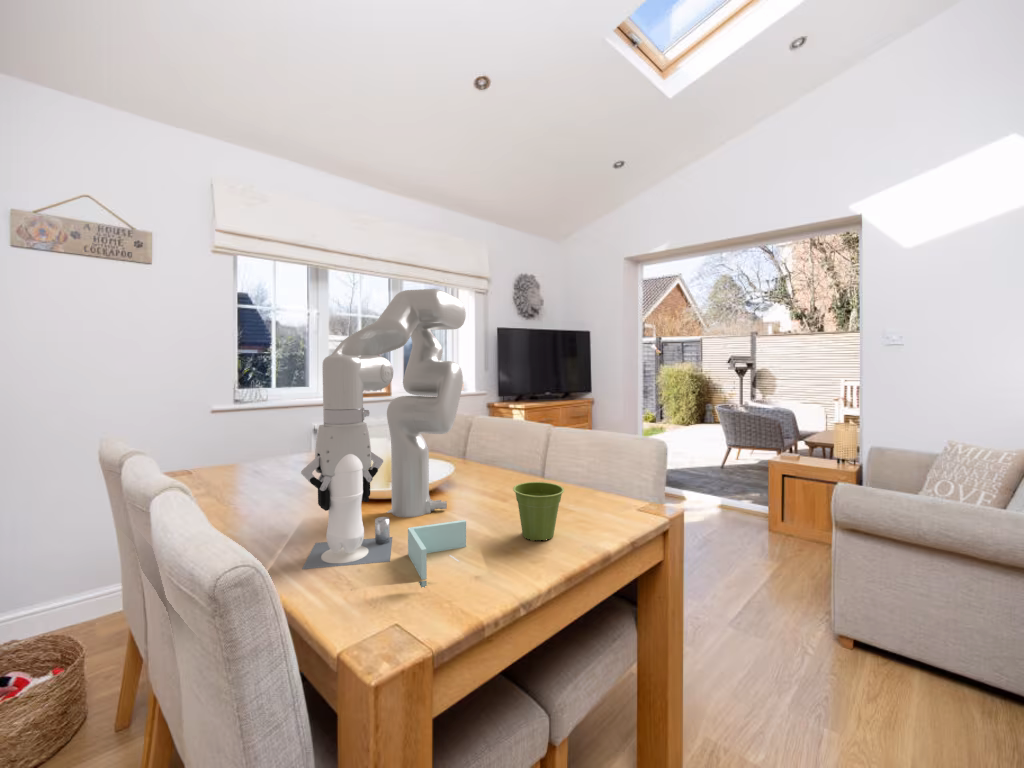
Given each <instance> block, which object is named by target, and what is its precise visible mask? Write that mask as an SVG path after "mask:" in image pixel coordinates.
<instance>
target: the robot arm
mask: <svg viewBox="0 0 1024 768" xmlns="http://www.w3.org/2000/svg"><path fill="white" fill-rule="evenodd" d="M466 318H467V312H466V308H465V305H464V303H463V302H462V301H461V300H460V299H459V298H458V297H456V296H454V295H452V294H450V293H448V292H446V291H443V290H440V289H438V288H436V289H435V288H426V289H423V288H422V289H407V290H406V289H404V290H402V291H399V292H398V293H397V294H395V295H394V297H393V298H392V299H391V301H390V302H389V304H388V305H387V306H386V308H384V310H383V312H382V313H381V314H380V316H379V318H377V320H376V321H375V322H373V323H371V324H368V325H366V326H364V327H363V328H361V329H360V330H357V331H356V332H354V333H352V334H351V335H349V336H347V337H346V338H344V339H343V340H342V341H341V342H340V343H339V344H338V345H337V347H336V348H335V349H334V351H333V352H332V353H331V354H330V355H329V356H326V357H325V358H324V359H323V360H322V404H323V405H322V407H323V408H322V409H323V413H322V414H323V415H322V416H323V424H319V425H318V429H317V434H316V441H315V442H316V443H315V452H314V453H315V454H314V459H312V461H310V463H308V464H307V465H306V466H305V467H304V468H303V469H302V470H301V472H300V474H301V476H303V477H304V478H305V479H306V480H307V481H308V482H309V483H310V484H311V485H312V486H314V487H315V488H317V504H318V506H319V507H320V508H321V509H322V510H324V511H328V510H329V509H330V494H329V490H327V486H328V484H329V482H330V480H331V478H332V477H333V476H334V475H335V473H334V472H335V468H336V466H337V464H338V463H339V461H340V460H341V459H342V458H343V457H344V456H346V455H348V454H353V455H355V456H357V457H358V458H359V459H360V461H361V462H362V465H363V469H362V471H363V495H362V501H363V502H365V503H367V502H368V503H369V500H370V496H371V483H372V481H373V480H374V479H373V478H374V477H375V476H376V475H377V474H378V472H379V469H380V468H381V466H382V465H383V463H384V459H382V457H380V456H378V455H377V454H375V453H374V452H372V448H371V447H372V446H371V440H370V439H371V438H370V434H369V429H368V424H367V422H365V418H366V417H369V416H370V410H368V409H365V407H364V391H380V390H383V389H385V388H386V387H389V385H390V384H391V383H392V380H393V379H394V367H393V365H392V363H391V361H390V360H388V359H387V358H386V357H384V356H381V355H382V354H383V355H384V354H387V353H390V352H393V351H396V350H398V349H400V348H402V347H403V346H406V344H407V343H408V341H409V339H411V345H412V347H411V351H410V354H409V357H408V361H407V365H406V368H405V372H404V375H403V378H402V385H403V389H404V391H405V392H406V393H407V394H409V395H402V396H398V397H395V398H394V399H392V400H391V401H390V402H389V404H388V406H387V410H386V419H387V424H388V430H389V435H390V448H391V449H390V453H391V458H390V459H391V460H390V463H391V467H390V468H391V473H390V474H391V509H389V510H387V511H386V514H389V513H391V514H392V515H393V516H395V517H398V518H414V517H415V518H416V517H420V516H424V515H427V514H431V513H432V512H435V510H447V508H448V507H447V504H448V503H447V501H444V500H443V501H442V499H437V500H433V499H431V495H430V489H429V488H430V464H429V463H430V461H429V460H430V452H429V447H428V444H427V441H426V439H425V438H424V435H422V434H428V435H429V434H430V435H443V434H448V433H449V432H451V430H452V429H453V427H454V424H455V421H456V416H457V411H458V407H459V403H460V399H461V395H462V390H463V384H464V382H463V381H464V378H463V371H462V368H461V367H460V365H459V364H458V363H457V362H455V361H451V360H442V357H443V353H444V351H443V347H442V345H441V343H440V341H439V339H437V337H436V336H435V335H434V334H433V332H432V330H433V331H436V330H440V331H441V330H448V331H449V330H457V329H460V328H462V326H463V325H464V323H465V320H466ZM314 471H315V473H318V474H319V476H318V478H316V477H315V475H314V474H313V472H314Z"/></svg>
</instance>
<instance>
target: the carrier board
mask: <svg viewBox="0 0 1024 768" xmlns="http://www.w3.org/2000/svg"><path fill="white" fill-rule="evenodd" d="M392 546H393V536H390V542H389V543H387V544H383V545H379V544H376V543H375V537H374V538H373V537H371V538H363V542H362V544H361V546H360V547H359V548H356V550H355V551H353V552H351V553H346V552H345V550H344V548H343V547H342V548H341V550H340V552H339V553H334V552H332V551H331V549H330V548H329V546H328V543H327V541H324V542H323V541H322V542H315V543H314V545H313V547H312V549H311V551H310V553H309V554H308V557H307V559H306V560H305V562H304V564H303V566H302V568H301V570H309V569H323V568H334V567H344V566H356V565H366V564H378V563H390V562H391V555H392Z"/></svg>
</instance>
